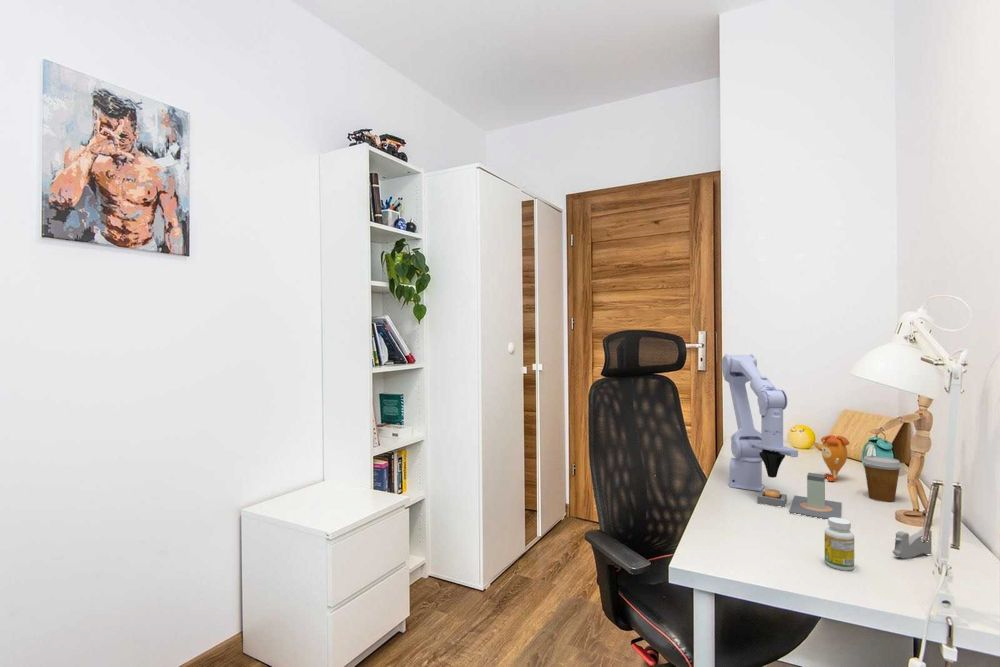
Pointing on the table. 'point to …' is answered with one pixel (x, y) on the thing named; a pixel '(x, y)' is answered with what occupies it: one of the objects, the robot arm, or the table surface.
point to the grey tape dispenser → (911, 544)
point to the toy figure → (834, 454)
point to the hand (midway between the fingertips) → (772, 476)
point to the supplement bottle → (839, 544)
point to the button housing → (772, 499)
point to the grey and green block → (816, 491)
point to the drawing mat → (801, 508)
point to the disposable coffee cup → (881, 477)
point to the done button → (772, 493)
